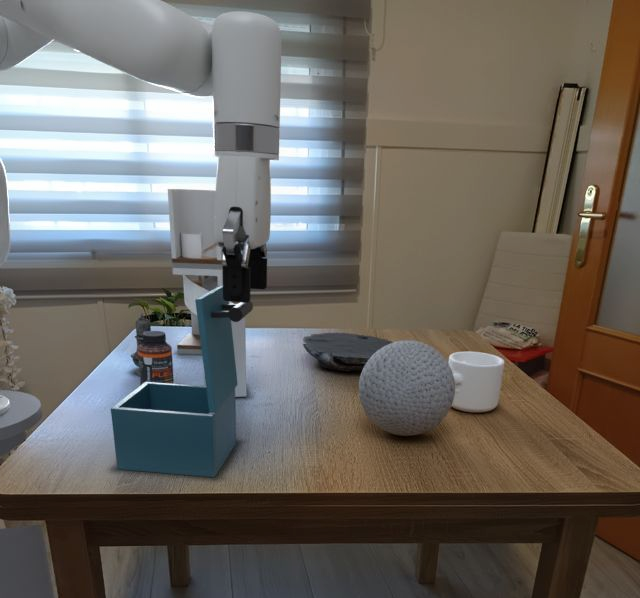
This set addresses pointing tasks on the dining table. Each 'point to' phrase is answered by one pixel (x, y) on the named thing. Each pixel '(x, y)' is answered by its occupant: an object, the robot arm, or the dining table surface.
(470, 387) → the mug
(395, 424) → the decorative ball
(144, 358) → the supplement bottle
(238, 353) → the milk carton
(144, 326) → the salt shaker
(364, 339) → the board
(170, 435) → the case
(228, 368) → the case lid
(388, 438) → the dining table surface
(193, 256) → the display case
